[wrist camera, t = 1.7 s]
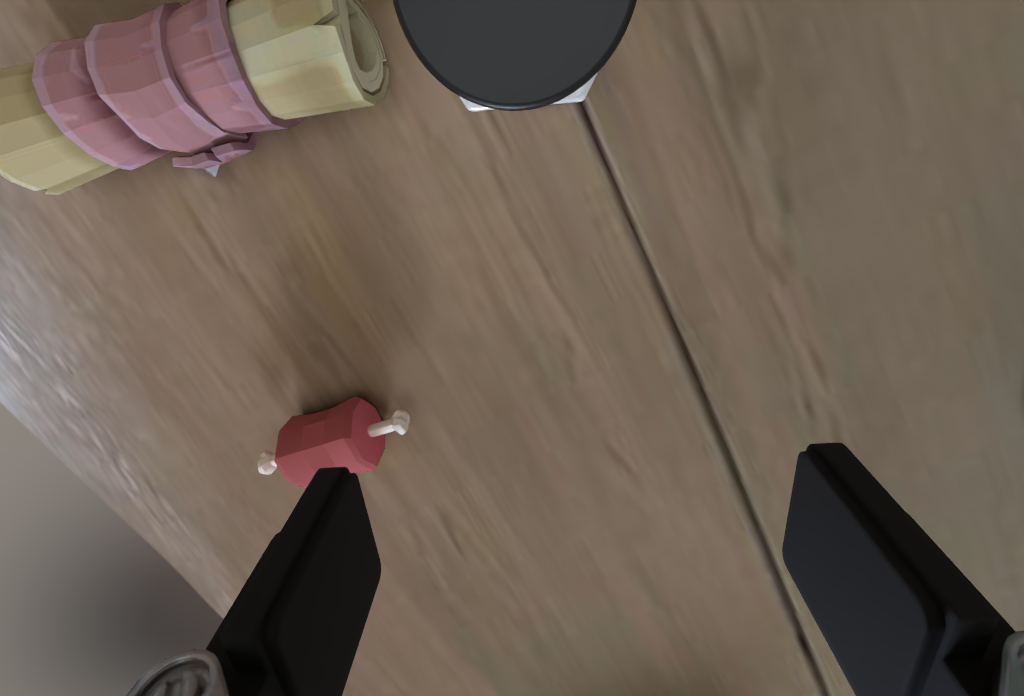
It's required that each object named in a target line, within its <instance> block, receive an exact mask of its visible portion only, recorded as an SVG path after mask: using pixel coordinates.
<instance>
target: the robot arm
mask: <svg viewBox="0 0 1024 696" xmlns="http://www.w3.org/2000/svg"><path fill="white" fill-rule="evenodd" d="M782 552H783V559H784V562H785V565H786V567H787V569H788V571H789V573H790V575H791V577H792V578H793V580H794V582H795V584H796V586H797V588H798V589H799V591H800V593H801V595H802V597H803V599H804V601H805V602H806V604H807V606H808V608H809V610H810V612H811V613H812V615H813V617H814V619H815V621H816V623H817V625H818V626H819V628H820V630H821V632H822V634H823V636H824V637H825V639H826V641H827V643H828V645H829V647H830V649H831V650H832V652H833V654H834V656H835V658H836V660H837V662H838V663H839V665H840V667H841V669H842V671H843V673H844V674H845V676H846V678H847V680H848V682H849V684H850V686H851V687H852V689H853V691H854V693H855V695H856V696H1024V631H1017V632H1015V631H1014V630H1013V628H1012V627H1011V626H1010V625H1009V624H1008V623H1007V622H1006V621H1005V620H1004V619H1003V617H1002V616H1001V615H1000V614H999V613H998V612H997V611H996V610H995V609H994V608H993V606H992V605H991V604H990V603H989V602H988V601H987V600H986V599H985V598H984V597H983V595H982V594H981V593H980V592H979V591H978V590H977V589H976V588H975V587H974V586H973V584H972V583H971V582H970V581H969V580H968V579H967V578H966V577H965V576H964V575H963V573H962V572H961V571H960V570H959V569H958V568H957V567H956V566H955V565H954V564H953V562H952V561H951V560H950V559H949V558H948V557H947V556H946V555H945V554H944V552H943V551H942V550H941V549H940V548H939V547H938V546H937V545H936V544H935V543H934V541H933V540H932V539H931V538H930V537H929V536H928V535H927V534H926V533H925V532H924V530H923V529H922V528H921V527H920V526H919V525H918V524H917V523H916V522H915V521H914V519H913V518H912V517H911V516H910V515H909V514H907V513H906V512H905V511H904V510H903V509H902V508H901V507H900V505H899V504H898V503H897V502H896V501H895V500H894V499H893V498H892V497H891V495H890V494H889V493H888V492H887V491H886V490H885V489H884V488H883V487H882V486H881V484H880V483H879V482H878V481H877V480H876V479H875V478H874V477H873V476H872V474H871V473H870V472H869V471H868V470H867V469H866V468H865V467H864V466H863V465H862V463H861V462H860V461H859V460H858V459H857V458H856V457H855V456H854V455H853V454H852V452H851V451H850V450H849V449H848V448H847V447H846V446H845V445H844V444H842V443H821V444H810V445H809V446H808V447H807V449H806V451H804V452H800V454H799V456H798V460H797V466H796V471H795V477H794V483H793V489H792V495H791V501H790V507H789V512H788V518H787V524H786V530H785V536H784V542H783V549H782ZM380 575H381V563H380V558H379V555H378V551H377V547H376V543H375V539H374V536H373V532H372V528H371V524H370V521H369V517H368V513H367V509H366V506H365V502H364V498H363V494H362V491H361V487H360V483H359V479H358V477H357V475H356V474H355V473H350V471H349V469H348V468H347V467H330V468H320V469H318V470H317V472H316V473H315V475H314V476H313V478H312V480H311V481H310V483H309V485H308V486H307V488H306V490H305V492H304V493H303V495H302V497H301V498H300V500H299V502H298V503H297V505H296V507H295V508H294V510H293V512H292V513H291V515H290V517H289V518H288V520H287V522H286V523H285V525H284V527H283V529H282V530H281V532H279V533H278V534H276V535H275V536H274V538H273V539H272V540H271V542H270V544H269V545H268V547H267V549H266V550H265V552H264V553H263V555H262V557H261V558H260V560H259V562H258V563H257V565H256V567H255V568H254V570H253V572H252V573H251V575H250V577H249V578H248V580H247V582H246V583H245V585H244V587H243V588H242V590H241V592H240V593H239V595H238V597H237V598H236V600H235V602H234V603H233V605H232V607H231V608H230V610H229V611H228V613H227V615H226V616H225V618H224V620H223V621H222V623H221V625H220V627H219V628H218V630H217V631H216V633H215V635H214V636H213V638H212V640H211V641H210V643H209V645H208V646H207V648H206V650H203V649H192V650H187V651H183V652H180V653H177V654H175V655H173V656H171V657H168V658H166V659H164V660H163V661H161V662H160V663H158V664H157V665H155V666H154V667H153V668H151V669H150V670H149V671H148V672H147V673H145V674H144V675H143V676H142V677H141V678H140V679H139V680H138V681H137V682H136V683H135V685H134V686H133V688H131V690H130V691H129V692H128V694H127V695H126V696H342V693H343V690H344V687H345V684H346V681H347V678H348V675H349V672H350V669H351V666H352V663H353V660H354V657H355V654H356V651H357V648H358V644H359V641H360V638H361V635H362V632H363V629H364V626H365V623H366V620H367V617H368V614H369V611H370V608H371V605H372V602H373V599H374V595H375V592H376V589H377V586H378V583H379V580H380Z"/></svg>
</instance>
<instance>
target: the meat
mask: <svg viewBox="0 0 1024 696" xmlns="http://www.w3.org/2000/svg"><path fill="white" fill-rule="evenodd" d="M409 422H410V418H409V414H408V412H407V411H404V410H397V411H396V412H395V413H394V414H393V416H392V418H391V419H388V420H384V421H382V420H381V418H380V416H379V414H378V412H377V410H376V409H375V407H374V406H372V405H371V404H369V403H368V402H366V401H365V400H363V399H362V398H359V397H356V396H354V397H352V398H350V399H349V400H347V401H345V402H343V403H341V404H339V405H337V406H335V407H333V408H330V409H327V410H324V411H321V412H318V413H314V414H308V415H299V416H292V417H291V418H290V420H289V421H288V422H287V423H286V424H285V425H284V426H283V428H282V429H281V430H280V432H279V435H278V442H277V448H276V454H274V453H272V452H270V451H268V450H267V451H265V452H264V453H262V454H261V460H259V461H258V469H259V472H260V473H262V474H271V473H272V472H273V471H274V470H275V469H276V467H277V466H278V468H279V470H280V471H281V473H282V474H283V476H284V477H285V479H286V481H288V482H290V483H293V484H296V485H299V486H301V487H304V488H307V486H308V485H309V483H310V481H311V480H312V478H313V476H314V475H315V473H316V472H317V470H318V469H320V468H330V467H347V468H348V469H349V471H350V473H357V472H368V471H374V470H375V468H376V467H377V465H378V463H379V460H380V458H381V456H382V453H383V451H384V449H385V434H386V433H389V432H392V431H396V432H398V433H399V434H401V435H403V434H404V433H406V432H407V431H408V429H409V428H408V424H409Z"/></svg>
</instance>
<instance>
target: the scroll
mask: <svg viewBox="0 0 1024 696" xmlns="http://www.w3.org/2000/svg"><path fill="white" fill-rule="evenodd" d="M385 60H386V57H385V53H384V50H383V46H382V42H381V40H380V37H379V35H378V33H377V30H376V28H375V26H374V24H373V21H372V19H371V17H370V15H369V14H368V12H367V11H366V9H365V8H364V6H363V5H362V3H361V2H360V0H193V1H191V2H189V3H188V4H186V5H184V6H182V5H180V4H179V3H176V4H163V5H161V6H159V7H157V8H155V9H153V10H151V11H148V12H146V13H144V14H142V15H140V16H138V17H136V18H134V19H132V20H125V21H118V22H112V23H105V24H99V25H94V27H93V29H92V30H91V32H90V33H89V35H88V37H83V38H77V39H70V40H64V41H57V42H51V43H49V44H48V45H47V46H46V47H45V48H44V49H43V50H42V51H40V52H39V53H38V54H37V55H36V56H35V60H34V63H29V64H24V65H18V66H13V67H7V68H2V69H0V175H1V176H3V177H4V178H6V179H8V180H9V181H11V182H13V183H16V184H18V185H21V186H24V187H26V188H29V189H31V190H34V191H36V190H43V192H44V193H45V194H51V195H59V194H62V193H64V192H66V191H68V190H71V189H73V188H75V187H78V186H80V185H82V184H84V183H87V182H89V181H91V180H94V179H96V178H98V177H101V176H103V175H105V174H107V173H110V172H112V171H114V170H117V169H119V168H122V169H126V170H133V169H136V168H138V167H140V166H142V165H144V164H147V163H149V162H151V161H153V160H155V159H157V158H159V157H161V156H163V155H165V154H167V153H169V152H171V151H178V152H185V153H192V154H194V155H191V156H179V157H174V158H172V162H173V166H174V167H186V168H198V169H204V170H205V171H207V172H208V173H210V174H211V175H212V176H214V177H215V178H216V174H217V171H218V168H219V166H220V165H223V164H225V163H227V162H229V161H231V160H233V159H235V158H237V157H239V156H242V155H244V154H246V153H248V152H250V151H253V149H254V147H255V145H256V143H257V140H258V131H269V130H279V129H288V128H290V127H292V126H294V125H296V124H298V123H300V121H301V120H302V119H303V118H304V117H305V116H312V115H318V114H324V113H330V112H337V111H343V110H349V109H355V108H362V107H368V106H374V105H376V104H378V103H379V102H381V101H382V100H384V97H385V94H386V90H387V87H388V81H389V72H390V71H389V68H388V66H387V65H383V61H385Z"/></svg>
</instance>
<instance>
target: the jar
mask: <svg viewBox="0 0 1024 696" xmlns="http://www.w3.org/2000/svg"><path fill="white" fill-rule="evenodd" d="M636 1H637V0H393V3H394V7H395V11H396V14H397V17H398V20H399V22H400V25H401V27H402V30H403V32H404V34H405V36H406V38H407V40H408V42H409V44H410V46H411V47H412V49H413V51H414V52H415V54H416V55H417V57H418V58H419V60H420V61H421V62H422V64H423V65H424V66H425V67H426V69H427V70H428V71H429V72H430V73H431V74H432V75H433V76H434V77H435V78H436V79H437V80H438V81H439V82H440V83H442V84H443V85H444V86H445V87H447V88H448V89H449V90H451V91H452V92H454V93H455V94H457V95H458V96H459V97H460V99H461V100H462V102H463V103H464V105H465V106H466V108H467V109H468V110H469V111H491V110H507V111H520V110H530V109H536V108H540V107H544V106H549V105H560V104H571V103H576V102H581V101H583V100H584V99H585V98H586V96H587V94H588V92H589V90H590V88H591V86H592V84H593V81H594V79H595V77H596V75H597V73H598V71H599V70H600V69H601V68H602V67H603V66H604V65H605V63H606V62H607V61H608V59H609V58H610V57H611V55H612V54H613V52H614V51H615V49H616V48H617V46H618V44H619V43H620V41H621V39H622V37H623V35H624V33H625V31H626V29H627V27H628V24H629V22H630V19H631V17H632V14H633V11H634V8H635V4H636Z"/></svg>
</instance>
